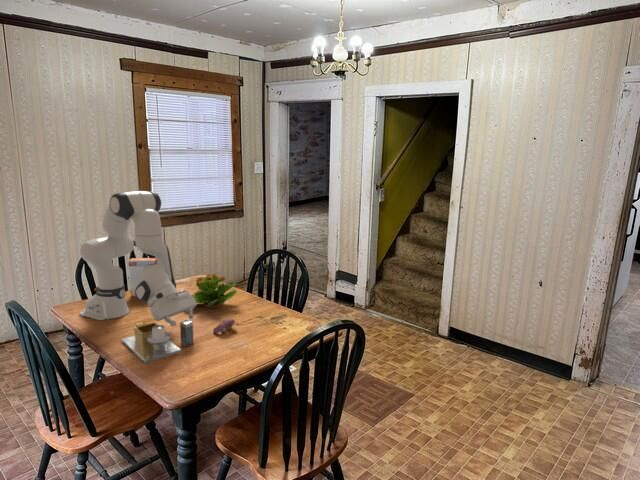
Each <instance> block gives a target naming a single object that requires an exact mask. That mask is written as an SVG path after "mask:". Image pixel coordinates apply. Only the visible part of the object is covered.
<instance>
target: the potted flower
mask: <svg viewBox="0 0 640 480" xmlns="http://www.w3.org/2000/svg"><path fill="white" fill-rule="evenodd" d="M224 281H226V277H225V276H224V275H223V276H221V277H219V276H218V274H217V273H213V274H211V273H207V274H206V276H205V277H204V276H201V277H200V276H199V277H197V278H196V281H195V282H196V283H195V285H196V287H197V288H198V289H197V292H196V291H195V293H194V294H191V295H192V297H193V298H194V299H195V301H196V302H197V304H202V305H203V306H204V307H205V308H218V307H220V306H222V304H224V303H225V302H226V301H228V300H230V299H232V298H233V297H234V296H235V295H236V294H237V291H238V290H237V289H232V288H233V287H235V286H236V285H238V283H237V282H234V281H231V282H230V281H229V282H228V283H226V284H225V283H224ZM230 289H232V290H230Z"/></svg>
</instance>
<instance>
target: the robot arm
mask: <svg viewBox="0 0 640 480" xmlns="http://www.w3.org/2000/svg"><path fill="white" fill-rule="evenodd" d="M109 199H110V200H109V204H108V206H107V209H106V211H105V215H104V218H103V221H102V228H103V231H104V232H105V233H106V234H107V235H105V236H103V237H102V236H101V237H97V238H93V239H90V240H86V241H85V242H83V243H82V244H81V245H80V247H79V248H80V249H79V253H80V256H81V258H82V259H83V260H84V261H85V262H86V263H89V265H91V266H92V267H93V268H94V271H95V272H96V276H97V277H96V278H97V284H98V286H97V287H95V288H94V289H93V291H94V292H95V294H93V296H91V297H90V298H89V299H87V300H86V301H85V305H84V309H82V310H81V311H80V312H79V315H80V316H81V317H85V316H86V317H85V318H89V317H90V319H92V320H97V321H105V319H106V320H111V319H116V318H120V317H124V316H126V315H127V314H129V312H130V309H129V306H128V304H127V303H128V302H127V300H126V295H125V294H126V286H125V284H124V283H125V282H124V275H123V274H124V271H123V269H122V268H121V267H119V266H118V265H114V262H113V259H116V258H120V257H123V256H126V255H128V254H130V253H131V252H133V250H134V248H137V250H139V251H140V252H141V253H143V254H146V255H150V256H154V258H157V260H158V264H157V263H155V264H150V265H148V266H146V267H144V268H143V269H142V279H141V281H140V283H139V284H138V285H137V287H136V290H135V294H136V296H137V297H136V298H137V300H138V301H139V302H141V303H143V304H147V306H148V307H149V308H150V309H149V311H150V314H151V316H152V317H153V319H154V320H155V321H156V322H160V321H163V320H164V321H165V322H166V323H168V324H169V325H170V326H171V327H174V326H176V325H177V322H176V320H175V319H173V320H172V319H171V317H174V316H176V315H178V314H181V313H184V312H186V313H188V316H187V318H188V320H193V319H194V318H195V316H194V312H193V309H195V307H196V306H197V304H198V303H197V302H196V301H195V299H194V298H193V297H192V295H193V294H191V293H190V291H187V290H185V289H184V290H180V291H179V290H178V289H177V283H176V280H175V277H174V274H173V272H174V271H173V265H172V260H171V254H170V249H169V247H168V245H167V244H166V243H164V240H163V234H162V231H163V230H162V223H161V216H160V213H159V211H160V209H161V208H162V200H161V197H160V196H159V194H158V193H157V192H156V191H155V192H154V191H151V190H150V191H149V190H146V191H145V190H133V191H126V192H124V191H121V192H116V193H114V194H112V196H111V197H110V198H109ZM131 221H133V222H134V239H133V238H132V236H130V235H129V232H128V231H129V228H130V224H131Z"/></svg>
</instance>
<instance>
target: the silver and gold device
mask: <svg viewBox="0 0 640 480" xmlns="http://www.w3.org/2000/svg"><path fill="white" fill-rule="evenodd" d="M171 339H172V335H171V332H168V331H166V326H165V325H163V324H157V323H156V322H152V323H151V322H150V323H145V322H144V321H141V322H136V323H135V326H134V335H131V336H127V337H124V338H123V337H122V338H121V343H122V344H123V345H125V346H126V347H127V349H128V350H129V351H131V352H132V353H133V354H134V355H135V356H136V358H138V359H139V360H140V361H141V362H142V364H143V365H146V364H149V363H151V362H155V361H158V360H161V359H164V358H167V357H171V356H174V355H177V354H180V353H182V349H181V348H179V347H178V346H177V345H176V344H174V343H173V342H172V341H171Z"/></svg>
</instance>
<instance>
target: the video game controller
mask: <svg viewBox="0 0 640 480" xmlns="http://www.w3.org/2000/svg"><path fill="white" fill-rule="evenodd" d="M235 323H236V321H235V320H234V319H233V318H231V317H230V318H226V319H224V320H223V321H221V322H220V323H219V324H218V325H217V326H215V327H214V328H213V331H212V332H213V333H214V334H218V333H220V332H221V333H222V334H223V333H225V332H226V331H229V330H230V329H231V328H232V327H233V326H234V325H235Z"/></svg>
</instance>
